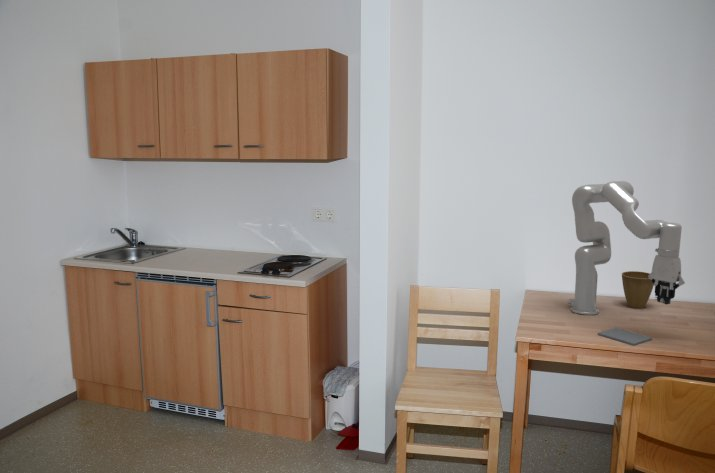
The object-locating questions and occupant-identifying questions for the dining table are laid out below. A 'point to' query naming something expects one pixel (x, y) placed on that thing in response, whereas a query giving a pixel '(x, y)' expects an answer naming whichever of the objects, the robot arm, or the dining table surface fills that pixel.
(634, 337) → the mat
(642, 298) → the plant pot
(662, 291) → the black mechanical part
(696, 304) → the dining table surface
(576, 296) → the robot arm
